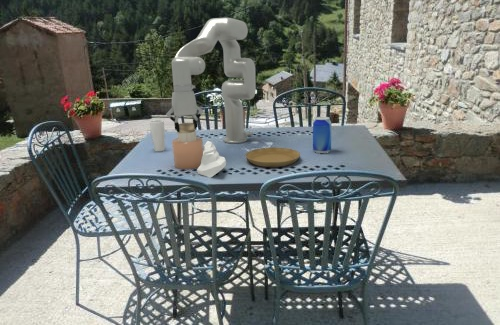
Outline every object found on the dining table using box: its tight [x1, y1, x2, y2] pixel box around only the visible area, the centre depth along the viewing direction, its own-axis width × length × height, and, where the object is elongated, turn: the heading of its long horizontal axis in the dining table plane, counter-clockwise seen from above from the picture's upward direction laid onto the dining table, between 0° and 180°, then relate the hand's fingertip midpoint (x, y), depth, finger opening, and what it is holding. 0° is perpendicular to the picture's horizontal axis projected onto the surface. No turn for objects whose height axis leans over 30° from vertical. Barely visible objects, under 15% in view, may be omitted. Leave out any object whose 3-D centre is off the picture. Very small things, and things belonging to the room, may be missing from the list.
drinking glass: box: [149, 119, 166, 153], centre depth 210 cm, size 7×7×15 cm
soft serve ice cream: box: [196, 140, 227, 179], centre depth 174 cm, size 12×15×14 cm
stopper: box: [179, 122, 196, 133], centre depth 184 cm, size 7×7×6 cm
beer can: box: [312, 116, 333, 154], centre depth 197 cm, size 8×8×16 cm
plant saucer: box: [245, 146, 301, 168], centre depth 188 cm, size 24×24×3 cm
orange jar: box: [171, 130, 204, 170], centre depth 186 cm, size 13×13×15 cm
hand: (186, 130), depth 183 cm, fingers closed on stopper, 6 cm apart
